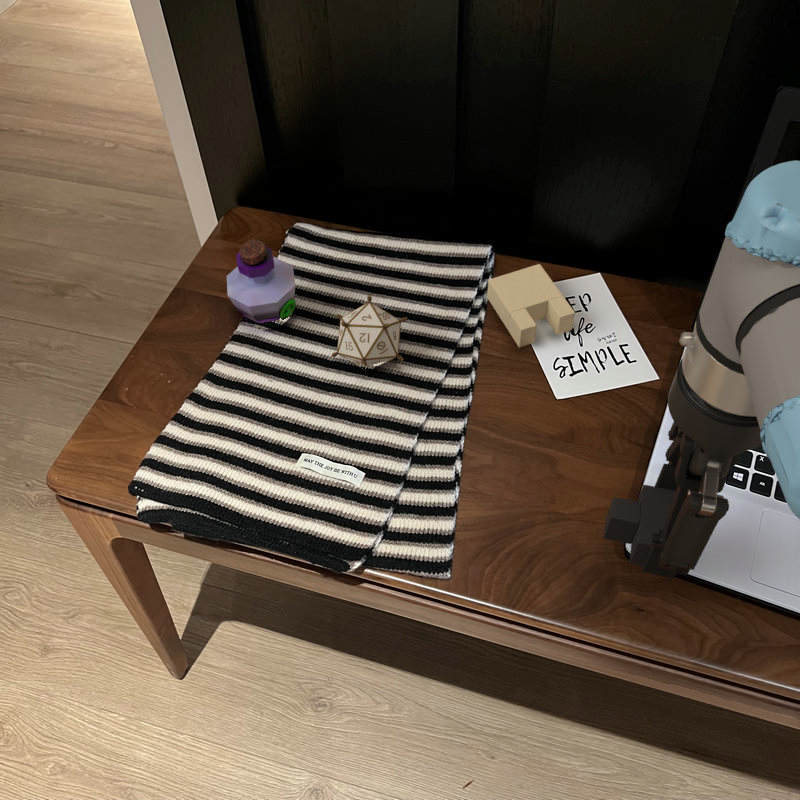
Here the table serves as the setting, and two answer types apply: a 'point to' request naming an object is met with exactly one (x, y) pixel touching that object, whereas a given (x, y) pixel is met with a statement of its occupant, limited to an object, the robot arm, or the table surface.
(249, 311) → the potion bottle
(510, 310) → the base pad
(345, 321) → the game die
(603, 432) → the table surface
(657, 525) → the black pad
